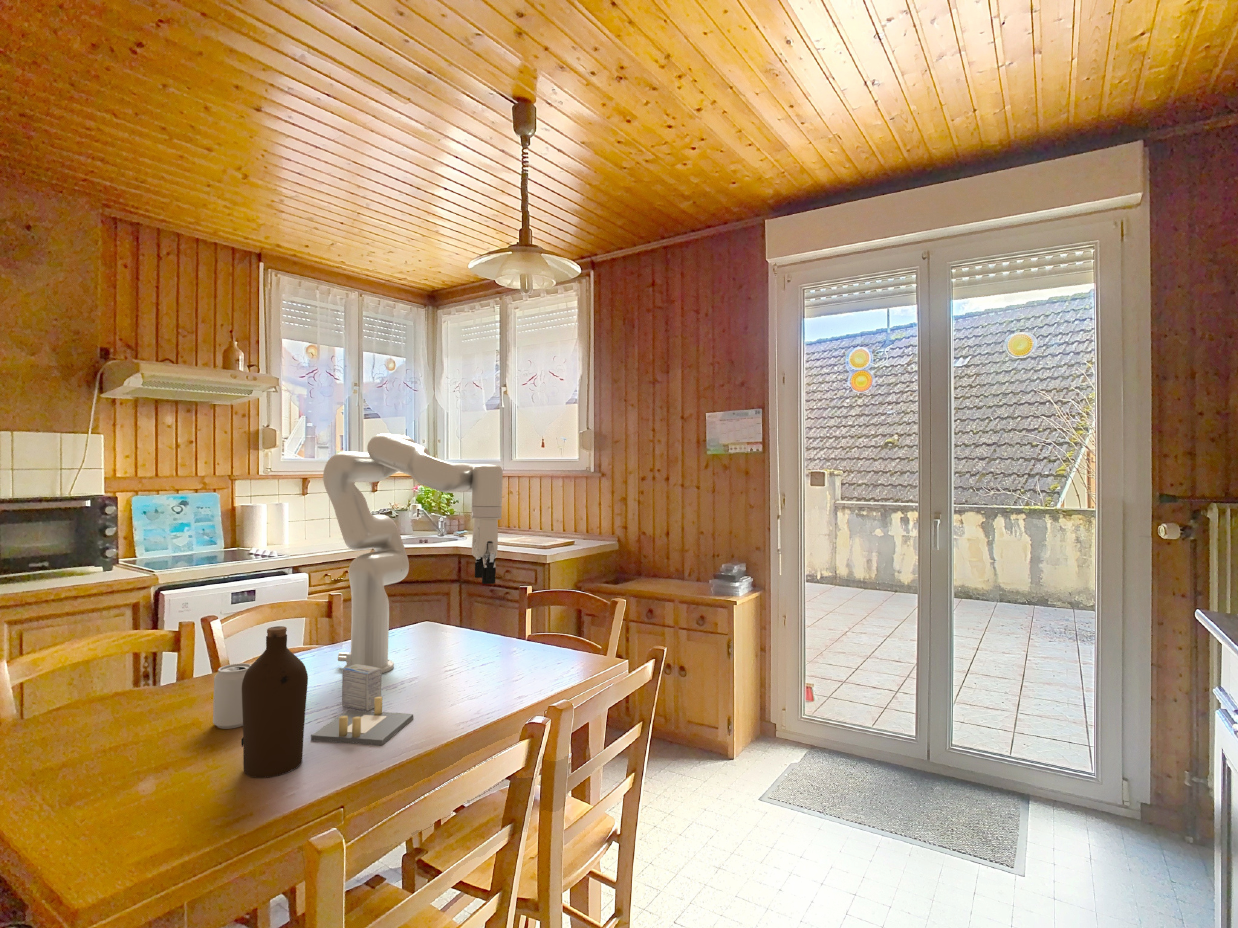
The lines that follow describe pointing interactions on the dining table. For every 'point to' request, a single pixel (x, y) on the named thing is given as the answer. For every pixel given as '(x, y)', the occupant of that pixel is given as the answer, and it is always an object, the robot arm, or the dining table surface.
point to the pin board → (363, 726)
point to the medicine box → (360, 686)
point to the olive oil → (274, 709)
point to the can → (229, 696)
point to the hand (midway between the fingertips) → (484, 580)
